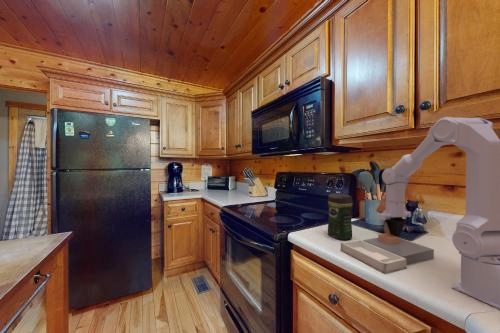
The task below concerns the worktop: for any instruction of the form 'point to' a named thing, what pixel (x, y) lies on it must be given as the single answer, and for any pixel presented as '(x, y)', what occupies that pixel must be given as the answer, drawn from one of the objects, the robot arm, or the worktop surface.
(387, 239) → the terracotta tile
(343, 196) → the coffee jar
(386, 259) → the cream tile
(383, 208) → the mushroom
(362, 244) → the grey bin
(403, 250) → the slate board
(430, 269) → the worktop surface
